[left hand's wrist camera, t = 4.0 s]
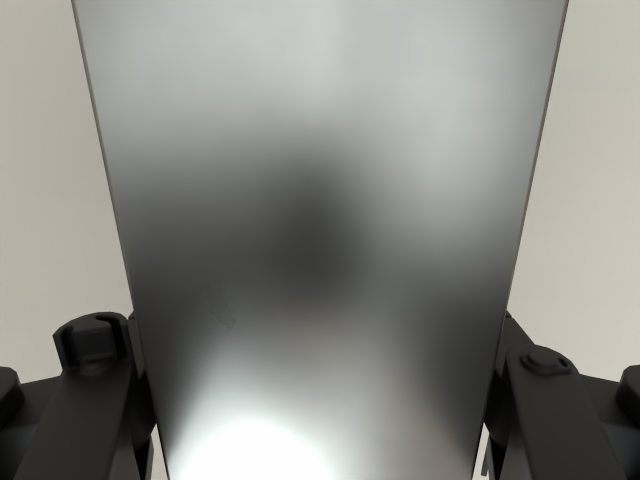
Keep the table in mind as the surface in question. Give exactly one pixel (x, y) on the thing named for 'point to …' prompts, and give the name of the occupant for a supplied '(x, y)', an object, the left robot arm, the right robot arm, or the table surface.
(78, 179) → the table surface
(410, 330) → the bar
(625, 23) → the table surface
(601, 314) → the table surface
